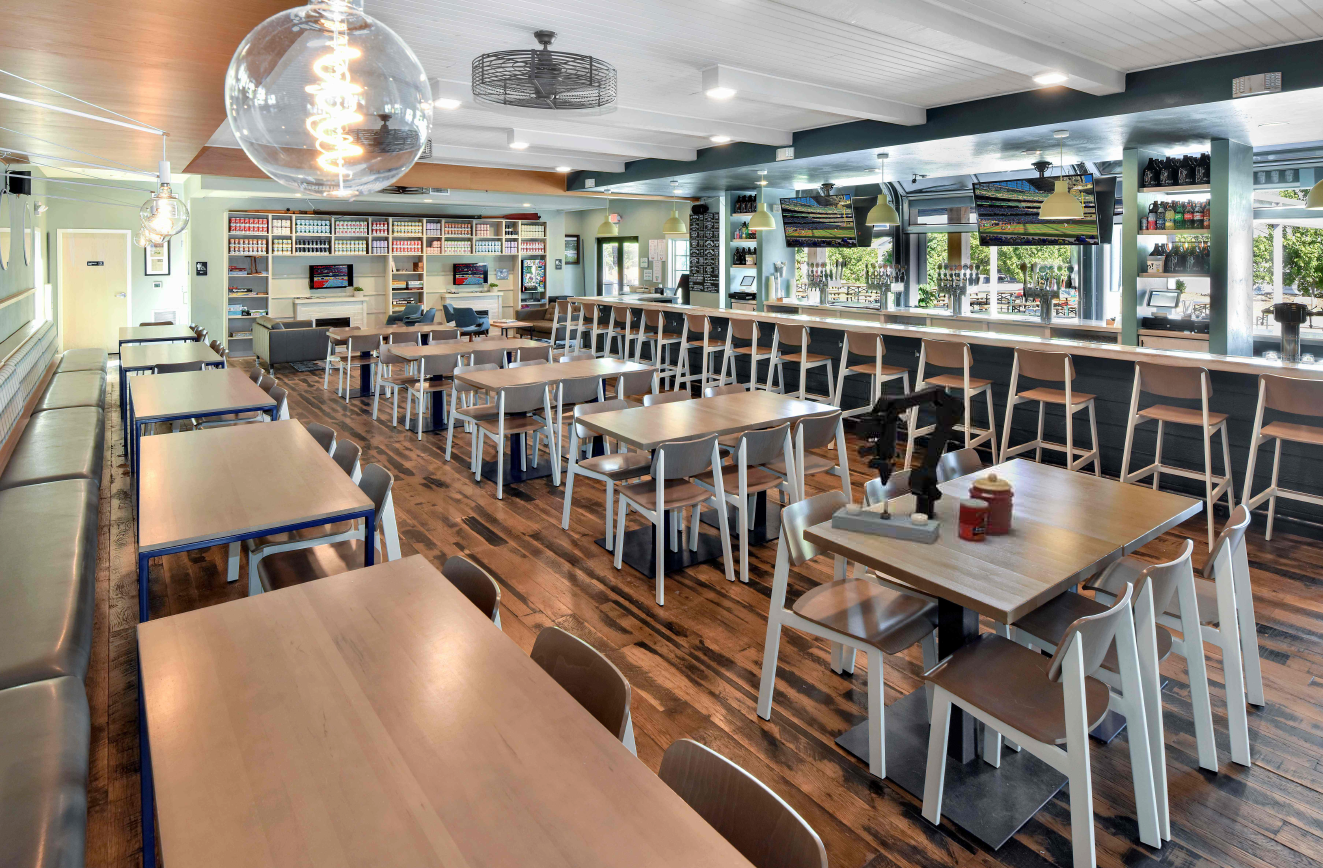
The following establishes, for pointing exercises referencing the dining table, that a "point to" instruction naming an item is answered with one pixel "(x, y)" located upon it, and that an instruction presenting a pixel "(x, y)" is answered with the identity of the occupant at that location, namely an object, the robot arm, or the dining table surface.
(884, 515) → the pot stem
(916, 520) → the knob right
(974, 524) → the canned food
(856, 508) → the knob left
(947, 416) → the robot arm
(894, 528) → the mount
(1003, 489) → the canister
